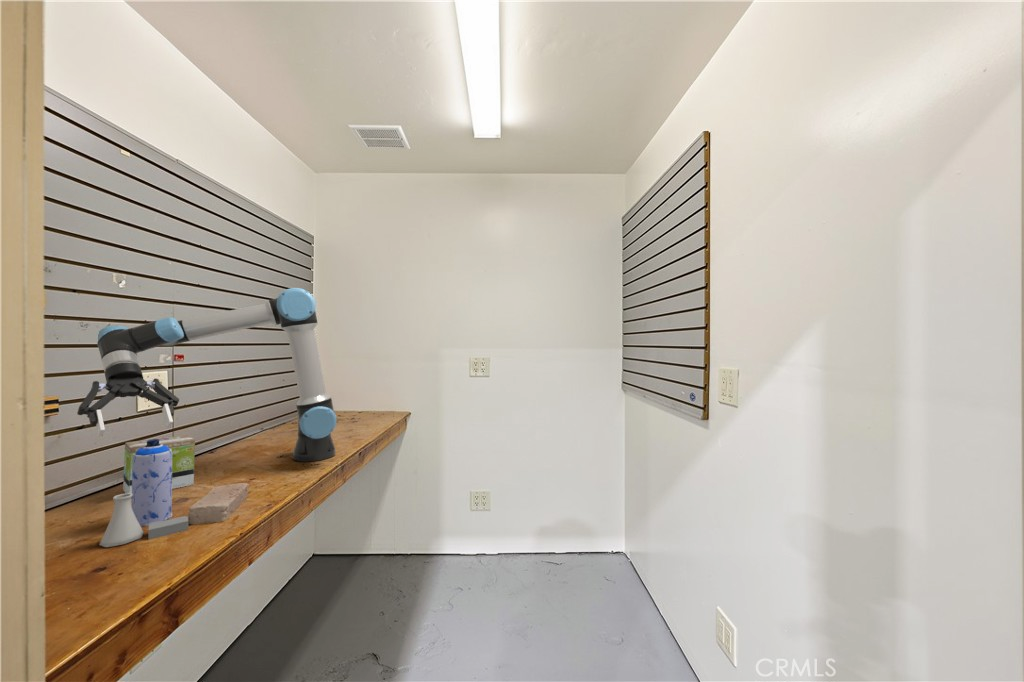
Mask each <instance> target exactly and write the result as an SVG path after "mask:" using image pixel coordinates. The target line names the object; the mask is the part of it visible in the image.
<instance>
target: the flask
mask: <svg viewBox="0 0 1024 682" xmlns="http://www.w3.org/2000/svg"><path fill="white" fill-rule="evenodd" d="M132 495H133V494H132V493H120V494H117V495H114V496H113V497H112V500H113V501H114V507H113V510H112V511H113V512H112V515H111V518H110V520H109V522H108V524H107V528H106V529H105V531H104V534H103V536H102V538H101V540H100V542H99V546H100V547H101V546H102V547H104V548H111V547H116V546H121V545H125V544H128V543H131V542H134V541H137V540H140V539H141V538H142V537H143V535H144V533H145V532H144V530H143V528H142V526H140V524H139V523H138V521H137V519H136V516H135V514H134V512H133V510H132V498H131V497H132Z"/></svg>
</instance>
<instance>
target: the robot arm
mask: <svg viewBox="0 0 1024 682" xmlns="http://www.w3.org/2000/svg"><path fill="white" fill-rule="evenodd" d="M316 306H317V305H316V300H315V298H314V296H313V294H311V293H310V292H309V291H307V290H306V289H304V288H301V287H291V288H287V289H285V290H283V291H282V292H281V293H280V294H279V295H278V297H275V298H272V299H268V300H267V301H266V302H264V303H261V304H257V305H252V306H247V307H241V308H236V309H231V310H225V311H222V312H221V311H220V312H216V313H211V314H206V315H202V316H201V315H200V316H197V317H192V318H185V319H182V320H177V319H176V318H174V317H172V316H169V317H164V318H160V319H156V320H154V321H151V322H147V323H144V324H141V325H137V326H134V327H131V328H128V327H125V326H123V325H119V324H118V325H108V326H105V327H103V328H101V329H100V330H99V331H98V332H99V334H98V333H97V334H98V341H97V348H98V351H99V353H100V354H99V355H100V358H101V363H102V367H103V371H104V376H105V380H106V381H105V382H106V383H100V381H98V380H94V381H93V382H92V383H91V387H90V391H89V392H88V393H87V395H86V397H85V398H84V399H83V401H82V402H81V403H80V405H79V406H78V409H77V415H79V416H82V415H86V417H87V418H88V420H89V424H90V425H91V426H94V425H96V430H97V436H98V437H103V436H104V434H105V430H106V427H105V423H104V418H103V414H102V410H103V408H104V407H106V405H108V404H109V403H110V402H111V401H113V400H115V399H116V398H118V397H120V398H127V397H137V396H138V397H139V398H142V399H146V400H148V401H150V402H152V403H154V404H155V405H158V406H160V407H162V408H161V412H162V415H163V418H164V421H165V425H166V429H168V428H171V427H172V425H173V423H174V420H173V416H174V415H175V410H174V407H177V406H178V404H179V402H180V398H179V397H177V396H176V395H175V394H174V393H173V392H171V390H169V389H167V387H165V386H164V385H163V384H162V383H161V381H160V380H159V378H153V379H152V380H149V381H147V380H145V379H144V375H143V372H142V368H141V364H140V362H139V361H140V360H139V358H138V353H142V352H145V351H147V350H151V349H154V348H157V347H160V346H166V347H172V346H176V345H179V344H182V343H187V342H190V341H195V340H200V339H204V338H209V337H213V336H218V335H223V334H228V333H232V332H238V331H241V330H246V329H251V328H255V327H260V326H264V325H269V324H273V325H275V326H277V325H280V327H281V330H283V331H285V332H286V333H287V337H288V338H287V339H288V344H289V349H290V353H291V359H292V363H293V369H294V374H295V380H296V384H297V391H298V396H299V399H298V401H297V402H296V403H295V405H296V411H297V440H296V443H295V446H294V449H293V451H292V460H293V459H294V460H293V461H295V460H297V461H296V462H315V461H317V462H318V461H321V460H326V459H329V458H332V457H334V456H336V447H335V443H334V442H333V439H332V433H333V432H334V430H335V428H336V426H337V421H338V420H337V419H338V418H337V417H338V416H337V415H336V413H335V411H334V406H333V400H332V396H331V395H330V394H328V393H327V392H326V387H325V381H324V377H323V376H324V375H323V370H322V366H321V359H320V355H319V349H318V344H317V337H316V334H315V333H316V332H315V328H316V327H317V326H318V324H319V323H318V318H317V312H316ZM104 389H105V390H106V391H108V392H107V393H106V394H104V395H103V396H102V397H101V398H100V399H99V400H97V401H95V403H94V404H93V405H91V404H92V403H93V402H94V399H95V398H96V397H97V395H98V393H100V392H102V391H103V390H104ZM90 405H91V406H90Z"/></svg>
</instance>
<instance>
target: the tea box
mask: <svg viewBox="0 0 1024 682" xmlns="http://www.w3.org/2000/svg"><path fill="white" fill-rule="evenodd" d="M157 439H159V444H162V445H165V446H167V447H168V448H169V449H171V450H172V490H174V489H180V487H181V488H185V486H186V487H190V486H189V485H191V486H193V485H194V480H195V479H194V478H195V455H196V454H195V453H196V452H195V451H196V450H195V449H196V448H195V447H196V440H195V438H193V437H191V436H189V435H187V434H183V435H177V436H168V437H167V436H166V437H159V438H157ZM148 440H151V439H143V440H136V441H127V442H125V443H124V458H123V462H124V463H123V484H122V485H123V487H122V489H123V492H124V494H126V493H132V457H133V454H134V453H136V452H137V451H138V450H139V449H140V448H142V447H143V446H146V445H147V441H148ZM131 499H132V497H131Z"/></svg>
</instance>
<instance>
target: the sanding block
mask: <svg viewBox="0 0 1024 682" xmlns="http://www.w3.org/2000/svg"><path fill="white" fill-rule="evenodd" d="M188 521H189V515H183V516H177V517H175V518H169V519H168V520H165V521H160V522H156V523H151V524H149V525H148V536H147V537H148V541H149V540H153V539H157V538H161V536H162V537H165V536H170V535H174V534H178V533H181V531H183V532H186V531H185V530H187V531H189V523H188ZM177 532H178V533H177ZM173 533H174V534H173Z"/></svg>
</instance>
